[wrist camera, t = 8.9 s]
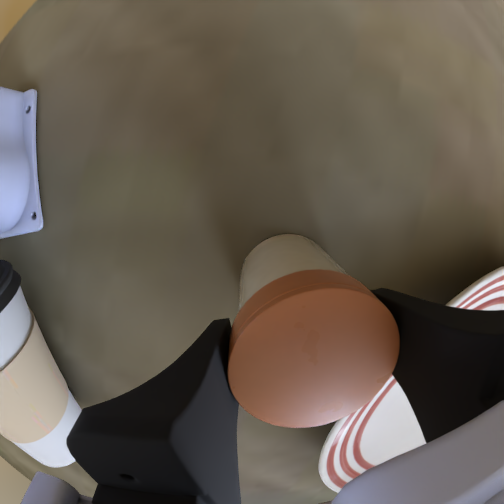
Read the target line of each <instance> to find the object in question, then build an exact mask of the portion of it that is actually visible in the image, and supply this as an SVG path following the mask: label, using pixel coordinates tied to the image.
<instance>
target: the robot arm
mask: <svg viewBox="0 0 504 504" xmlns="http://www.w3.org/2000/svg"><path fill="white" fill-rule="evenodd" d="M36 105H37V91H36V90H35V89H29V90H27V91H25V92H24V93H23V92H20V91H16V90H13V89H9V88H5V87H1V86H0V239H2V238H7V237H11V236H16V235H21V234H25V233H30V232H35V231H39V230H41V229H42V228H43V216H42V210H41V202H40V194H39V184H38V173H37V157H36ZM30 108H31V110H30V112H29V109H30ZM35 213H36V217H35ZM371 292H372V293H373V294H374V295H375V296H376V297H377V298H378V299H379V300H380V301H381V302H382V303H383V304H384V305H385V306H386V307H387V308H388V310H389V311H390V312H391V314H392V315H393V317H394V319H395V321H396V324H397V326H398V330H399V335H400V349H399V355H398V359H397V363H396V365H395V368H394V370H393V372H392V375H393V376H394V378H395V379H396V381H397V382H398V384H399V385H400V387H401V388H402V390H403V392H404V393H405V395H406V397H407V399H408V401H409V403H410V405H411V407H412V409H413V411H414V414H415V416H416V418H417V421H418V423H419V426H420V428H421V430H422V433H423V436H424V439H425V442H426V444H424V445H422V446H420V447H417V448H415V449H413V450H410V451H408V452H405V453H403V454H400V455H398V456H396V457H394V458H392V459H390V460H388V461H385V462H383V463H381V464H379V465H377V466H374V467H372V468H370V469H368V470H366V471H365V472H363V473H362V474H360V475H359V476H357V477H356V478H354V479H353V480H351V481H350V482H348V483H346V484H345V485H344V486H343V488H342V489H341V490H340V492H339V493H338V494H337V496H336V497H335V498H334V499H333V501H328V502H324V503H319V504H504V310H472V309H463V308H457V307H451V306H446V305H441V304H437V303H433V302H429V301H426V300H422V299H419V298H416V297H413V296H409V295H406V294H403V293H400V292H397V291H393V290H389V289H385V288H380V289H376V290H372V291H371ZM231 329H232V328H231V324H230V320H229V318H226V319H219V320H214V321H213V322H212V323H211V324H210V325H209V326H208V327H207V328H206V330H205V331H204V332H203V333H202V334H201V335H200V336H199V338H198V339H197V340H196V341H195V342H194V343H193V344H192V345H191V346H190V347H189V348H188V349H187V350H186V351H185V352H184V353H183V354H182V355H181V356H180V357H179V358H178V359H177V360H176V361H175V362H174V363H172V364H171V365H170V366H169V367H167V368H166V369H165V370H163V371H162V372H161V373H159V374H158V375H157V376H155V377H153V378H152V379H150V380H148V381H147V382H145V383H144V384H142V385H140V386H139V387H137V388H135V389H133V390H131V391H129V392H127V393H125V394H123V395H120V396H118V397H116V398H113V399H111V400H108V401H105V402H102V403H99V404H96V405H93V406H90V407H87V408H83V410H82V411H81V413H80V415H79V417H78V418H77V420H76V422H75V424H74V426H73V427H72V429H71V431H70V433H69V435H68V436H67V439H66V444H67V447H68V449H69V451H70V454H71V455H72V456H73V458H74V459H75V460H76V461H77V462H78V464H79V465H80V466H81V467H82V468H83V469H84V470H85V471H86V472H87V473H88V474H89V475H90V476H91V477H92V478H93V479H94V480H95V481H96V482H97V483H98V485H97V488H96V491H95V494H94V496H93V498H91V497H87V496H84V495H81V494H79V492H78V491H77V490H76V489H75V488H74V487H73V486H71V485H70V484H69V483H67V482H65V481H64V480H62V479H59V478H57V477H54V476H51V475H48V474H45V473H43V472H40V471H37V472H36V474H35V476H34V478H33V480H32V482H31V484H30V486H29V488H28V489H27V491H26V493H25V495H24V498H23V500H22V502H21V504H241V497H240V486H239V473H238V457H237V417H238V406H239V403H238V401H237V400H236V399H235V397H234V395H233V393H232V391H231V389H230V386H229V382H228V375H227V368H228V353H229V339H230V333H231Z"/></svg>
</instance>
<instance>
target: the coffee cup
mask: <svg viewBox="0 0 504 504" xmlns="http://www.w3.org/2000/svg"><path fill="white" fill-rule="evenodd" d="M20 284H21V276H20V275H19V274H18V273H17V272H16V271H15V270H13V268H12V265H11V264H10V263H9V262H7V261H5V260H0V434H2V435H3V436H4V437H5V438H7V439H8V440H10V441H12V442H13V443H14V444H16V445H17V446H18V447H20V448H21V449H22V450H24V451H25V452H26V453H28V454H29V455H30V456H32V457H33V458H35V459H36V460H37V461H39V462H40V463H42V464H44V465H46V466H50V467H63V466H67V465H69V464H71V463H73V462H75V461H76V460H75V459H74V458H73V456H72V455H71V454H70V451H69V449H68V447H67V444H66V439H67V436H68V435H69V433H70V431H71V429H72V427H73V426H74V424H75V422H76V420H77V418H78V417H79V415H80V413H81V411H82V410H81V408H80V406H79V405H78V403H77V402H76V400H75V399H74V397H73V395H72V394H71V392H70V391H69V389H68V386H67V383H66V381H65V379H64V377H63V376H62V374H61V372H60V370H59V368H58V366H57V364H56V362H55V360H54V358H53V356H52V354H51V352H50V350H49V348H48V346H47V344H46V342H45V340H44V337H43V335H42V333H41V331H40V328H39V326H38V324H37V321H36V319H35V316H34V314H33V312H32V310H31V309H30V308H29V307H28V305H27V303H26V300H25V297H24V295H23V292H22V289H21V286H20Z"/></svg>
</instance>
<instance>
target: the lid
mask: <svg viewBox="0 0 504 504" xmlns="http://www.w3.org/2000/svg"><path fill="white" fill-rule="evenodd" d="M399 349H400V335H399V330H398V326H397V324H396V321H395V319H394V317H393V315H392V314H391V312H390V311H389V310H388V308H387V307H386V306H385V305H384V304H383V303H382V302H381V301H380V300H379V299H378V298H377V297H376V296H375V295H374V294H373V293H372V292H371V291H370V290H369V289H368V288H366V287H365V286H364V285H363V284H362V283H360V282H359V281H358V280H356V279H354V278H353V277H351V276H349V275H346V274H344V273H341V272H337V271H332V270H323V269H313V270H304V271H298V272H294V273H291V274H288V275H285V276H282V277H280V278H278V279H275V280H273V281H272V282H270V283H268V284H267V285H265V286H264V287H262V288H261V289H260V290H258V291H257V292H256V293H255V294H254V295H253V296H252V297H251V298H250V299H249V300H247V302H246V303H245V304H244V306H243V307H242V308H241V309H240V311H239V313H238V315H237V316H236V318H235V321H234V323H233V325H232V329H231V333H230V339H229V353H228V368H227V375H228V382H229V386H230V389H231V391H232V393H233V395H234V397H235V399H236V400H237V401H238V403H239V404H240V405H241V406H242V407H243V408H244V409H245V410H246V411H247V412H248V413H250V414H251V415H252V416H254V417H256V418H258V419H260V420H262V421H264V422H267V423H269V424H273V425H276V426H282V427H289V428H307V427H315V426H320V425H324V424H328V423H331V422H334V421H337V420H339V419H342V418H344V417H346V416H348V415H350V414H352V413H354V412H355V411H357V410H358V409H360V408H361V407H363V406H364V405H365V404H367V403H368V402H369V401H370V400H371V399H373V398H374V397H375V396H376V395H377V394H378V393H379V391H380V390H381V389H382V388H383V387H384V385H385V384H386V382H387V381H388V380H389V378H390V376H391V374H392V372H393V370H394V368H395V365H396V363H397V359H398V355H399Z"/></svg>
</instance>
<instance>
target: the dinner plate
mask: <svg viewBox="0 0 504 504" xmlns="http://www.w3.org/2000/svg"><path fill="white" fill-rule="evenodd" d="M446 306H451V307H457V308H463V309H472V310H504V266H503V267H500V268H498V269H496V270H494V271H492V272H490V273H488V274H486V275H485V276H483V277H482V278H480V279H479V280H477V281H476V282H474V283H473V284H471V285H470V286H469V287H467V288H466V289H465V290H463V291H462V292H461V293H460V294H458V295H457V296H456V297H454V298H453V299H452V300H451V301H450V302H448V303H447V304H446ZM424 444H426V442H425V439H424V436H423V433H422V430H421V428H420V426H419V423H418V421H417V418H416V416H415V414H414V411H413V409H412V407H411V405H410V403H409V401H408V399H407V397H406V395H405V393H404V392H403V390H402V388H401V387H400V385H399V384H398V382H397V381H396V379H395V378H394V376H393V375H392V374H391V376H390V378H389V380H388V381H387V382H386V384H385V385H384V387H383V388H382V389H381V390H380V391H379V393H378V394H377V395H376V396H375V397H374V398H373V399H371V400H370V401H369V402H368V403H367V404H365V405H364V406H363V407H361V408H360V409H358V410H357V411H355V412H354V413H352V414H350V415H348V416H346V417H344V418H342V419H339V420H337V421H336V423H335V424H334V426H333V428H332V429H331V431H330V433H329V434H328V436H327V438H326V441H325V443H324V445H323V447H322V451H321V454H320V458H319V473H320V477H321V479H322V481H323V482H324V484H325V485H326V486H328V487H329V488H330V489H332V490H334V491H335V492H338V493H339V492H340V490H341V489H342V488H343V486H344V485H345V484H346V483H348V482H350V481H351V480H353V479H354V478H356V477H357V476H359V475H360V474H362V473H363V472H365V471H366V470H368V469H370V468H372V467H374V466H377V465H379V464H381V463H383V462H385V461H388V460H390V459H392V458H394V457H396V456H398V455H400V454H403V453H405V452H408V451H410V450H413V449H415V448H417V447H420V446H422V445H424Z"/></svg>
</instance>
